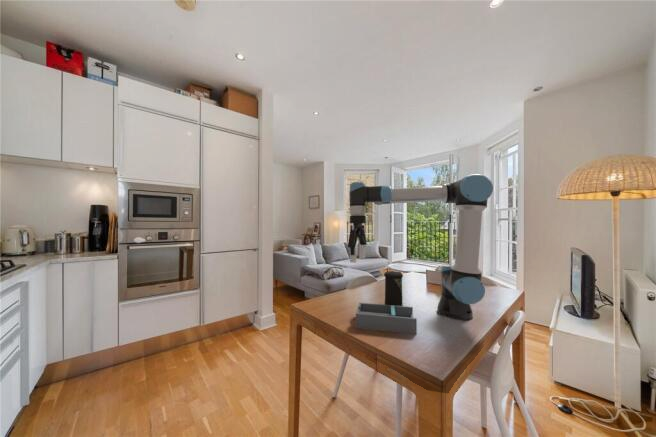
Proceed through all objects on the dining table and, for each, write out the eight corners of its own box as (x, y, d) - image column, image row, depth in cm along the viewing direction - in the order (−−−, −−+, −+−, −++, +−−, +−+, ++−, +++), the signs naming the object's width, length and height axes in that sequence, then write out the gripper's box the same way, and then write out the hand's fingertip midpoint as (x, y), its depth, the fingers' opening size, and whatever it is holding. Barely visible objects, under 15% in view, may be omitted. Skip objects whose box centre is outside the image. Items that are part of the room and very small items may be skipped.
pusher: (394, 316, 108) (394, 305, 108) (395, 327, 97) (395, 315, 97) (357, 313, 112) (357, 302, 112) (355, 323, 101) (355, 311, 101)
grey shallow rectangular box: (412, 320, 108) (412, 306, 108) (416, 334, 94) (416, 319, 94) (359, 315, 113) (359, 302, 113) (355, 328, 99) (355, 313, 99)
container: (403, 317, 111) (403, 274, 111) (384, 315, 113) (384, 273, 113) (401, 310, 119) (402, 270, 120) (383, 308, 121) (383, 269, 122)
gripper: (358, 215, 125) (358, 256, 125) (340, 214, 103) (340, 263, 103) (372, 215, 122) (372, 256, 122) (356, 214, 100) (357, 264, 99)
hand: (357, 260), depth 112 cm, fingers open, 13 cm apart
